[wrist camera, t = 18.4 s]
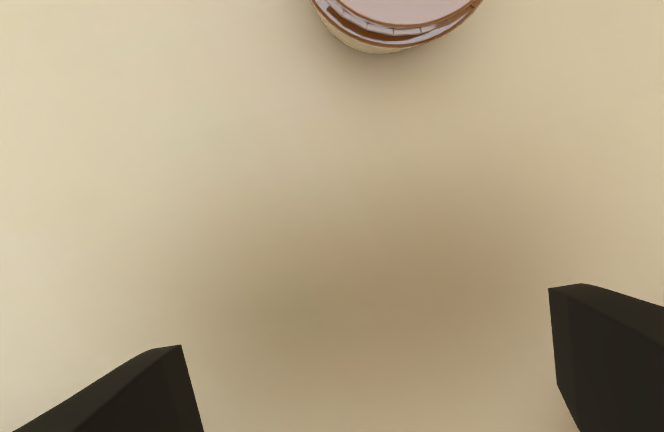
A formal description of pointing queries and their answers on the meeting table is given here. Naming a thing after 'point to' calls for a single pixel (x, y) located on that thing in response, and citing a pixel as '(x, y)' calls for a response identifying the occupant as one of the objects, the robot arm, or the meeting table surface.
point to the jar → (392, 21)
